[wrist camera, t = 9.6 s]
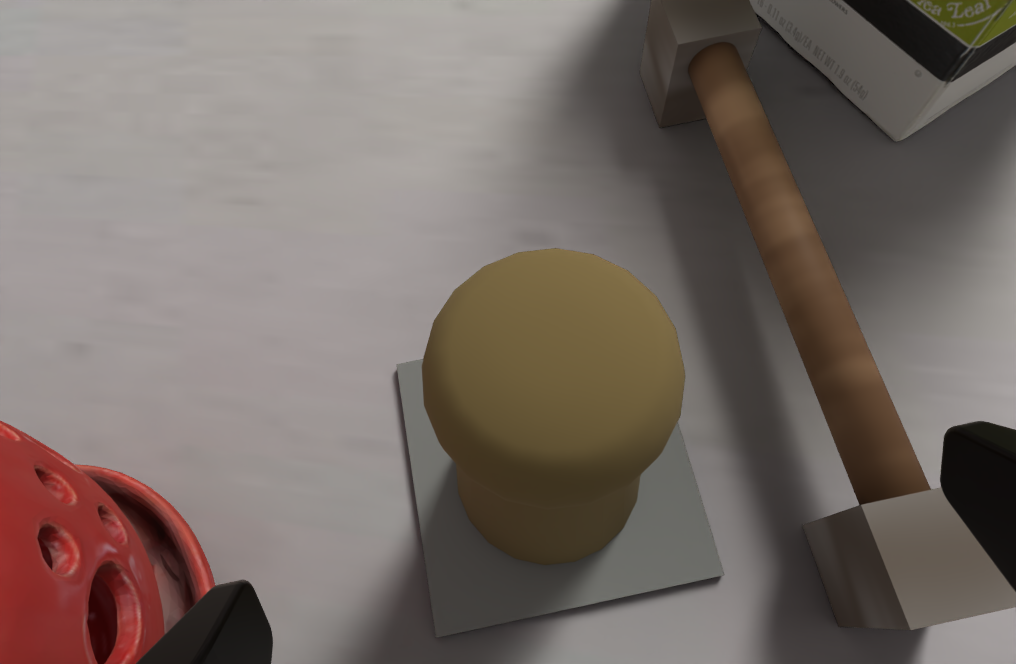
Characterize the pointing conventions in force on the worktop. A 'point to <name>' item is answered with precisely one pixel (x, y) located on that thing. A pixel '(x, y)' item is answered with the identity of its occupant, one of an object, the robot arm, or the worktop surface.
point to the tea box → (900, 51)
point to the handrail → (822, 345)
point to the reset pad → (550, 588)
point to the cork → (552, 399)
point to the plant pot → (87, 560)
